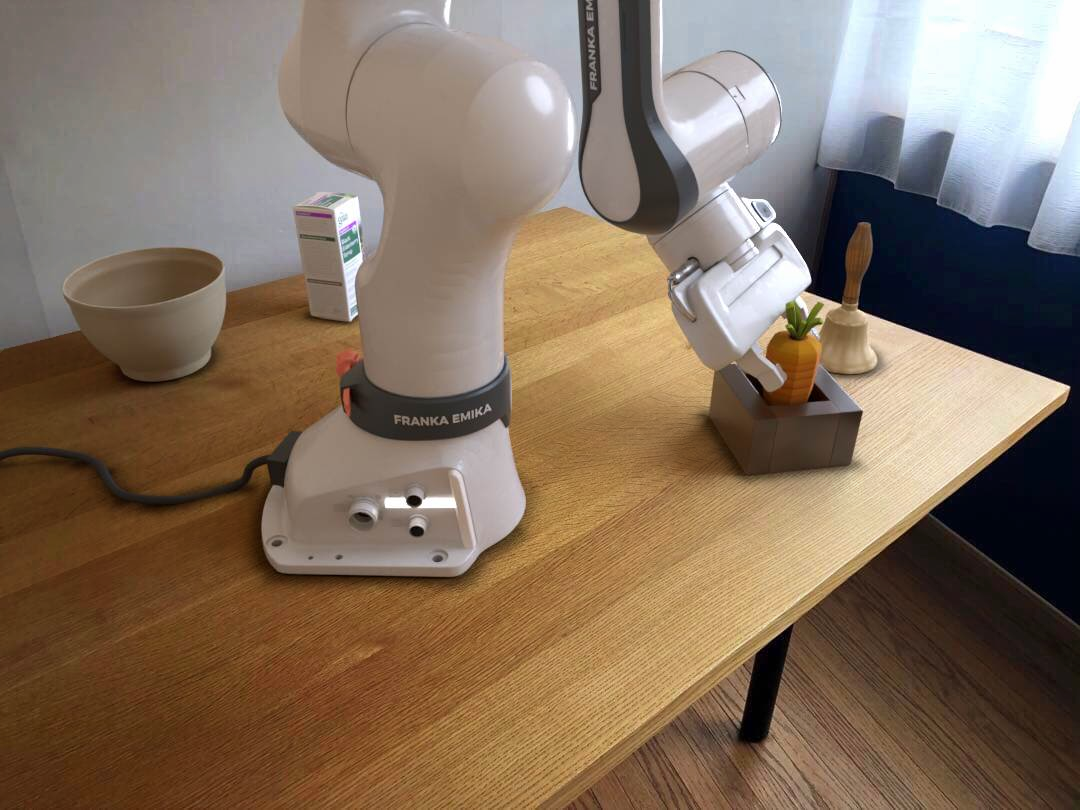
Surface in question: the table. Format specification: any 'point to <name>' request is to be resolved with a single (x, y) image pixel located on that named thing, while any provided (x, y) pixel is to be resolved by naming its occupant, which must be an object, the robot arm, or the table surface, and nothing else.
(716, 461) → the table surface
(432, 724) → the table surface
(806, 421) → the stand
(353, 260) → the syrup box
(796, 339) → the carrot
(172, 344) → the planter bowl
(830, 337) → the hand bell
